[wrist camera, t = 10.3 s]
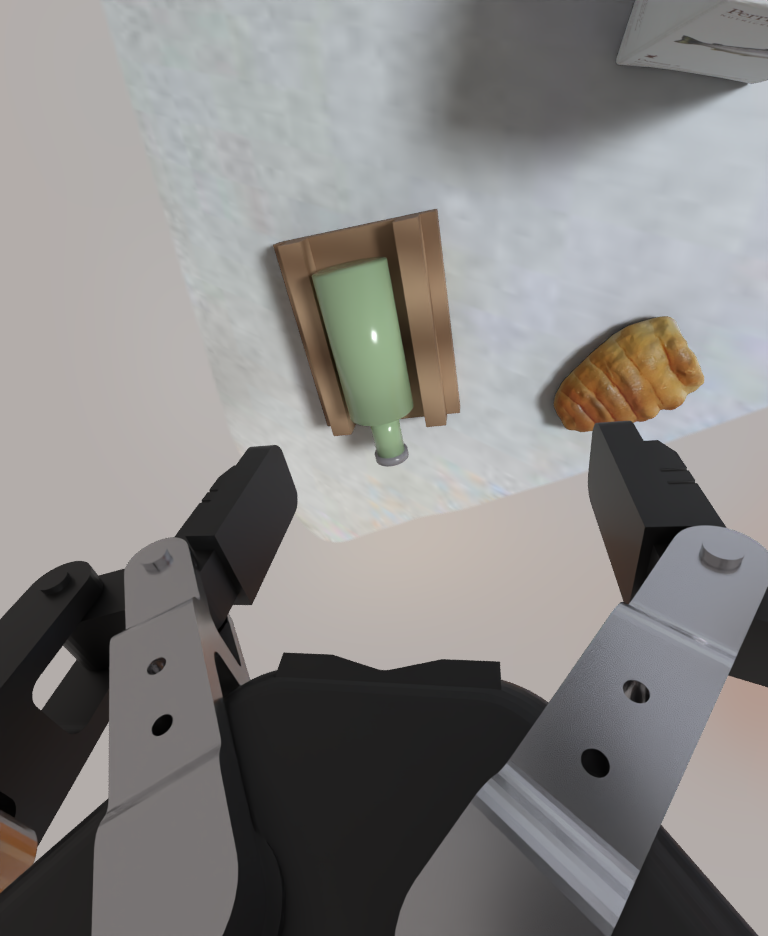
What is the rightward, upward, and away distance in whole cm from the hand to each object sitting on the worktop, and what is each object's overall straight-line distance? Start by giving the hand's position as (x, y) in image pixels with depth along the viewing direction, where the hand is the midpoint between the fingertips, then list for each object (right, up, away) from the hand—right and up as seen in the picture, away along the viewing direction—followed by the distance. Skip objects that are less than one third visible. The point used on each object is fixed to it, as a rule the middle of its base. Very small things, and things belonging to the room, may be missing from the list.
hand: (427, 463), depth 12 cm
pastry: (+17, +7, +21) cm, 28 cm away
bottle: (-1, +8, +22) cm, 23 cm away
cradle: (-2, +10, +22) cm, 24 cm away
